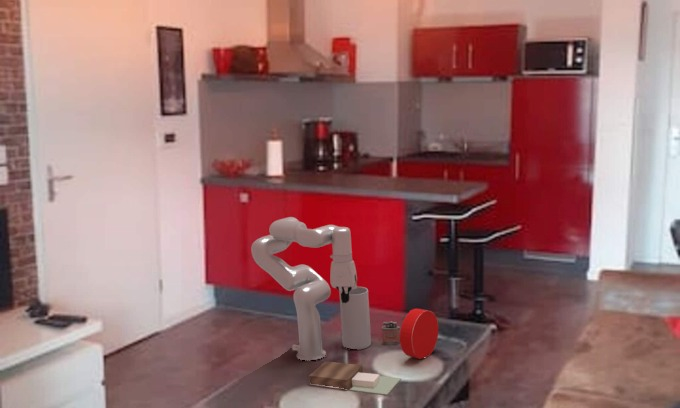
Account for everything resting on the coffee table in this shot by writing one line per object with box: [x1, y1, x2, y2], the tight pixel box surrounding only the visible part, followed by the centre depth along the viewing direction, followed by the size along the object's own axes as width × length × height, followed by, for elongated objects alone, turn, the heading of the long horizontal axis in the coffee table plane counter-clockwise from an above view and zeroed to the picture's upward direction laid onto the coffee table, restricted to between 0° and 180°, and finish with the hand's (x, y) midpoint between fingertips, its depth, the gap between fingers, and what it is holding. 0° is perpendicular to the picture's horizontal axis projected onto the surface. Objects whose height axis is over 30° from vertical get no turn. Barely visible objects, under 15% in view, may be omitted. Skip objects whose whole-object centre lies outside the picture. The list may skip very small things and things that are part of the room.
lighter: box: [381, 320, 401, 346], centre depth 323 cm, size 8×3×10 cm, turn 84°
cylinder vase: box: [338, 286, 372, 351], centre depth 322 cm, size 12×12×25 cm
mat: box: [349, 375, 402, 396], centre depth 281 cm, size 15×15×1 cm
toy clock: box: [399, 308, 439, 360], centre depth 305 cm, size 20×6×20 cm, turn 141°
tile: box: [351, 372, 381, 388], centre depth 282 cm, size 9×7×2 cm
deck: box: [308, 360, 364, 391], centre depth 288 cm, size 16×15×4 cm
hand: (345, 302), depth 297 cm, fingers closed
